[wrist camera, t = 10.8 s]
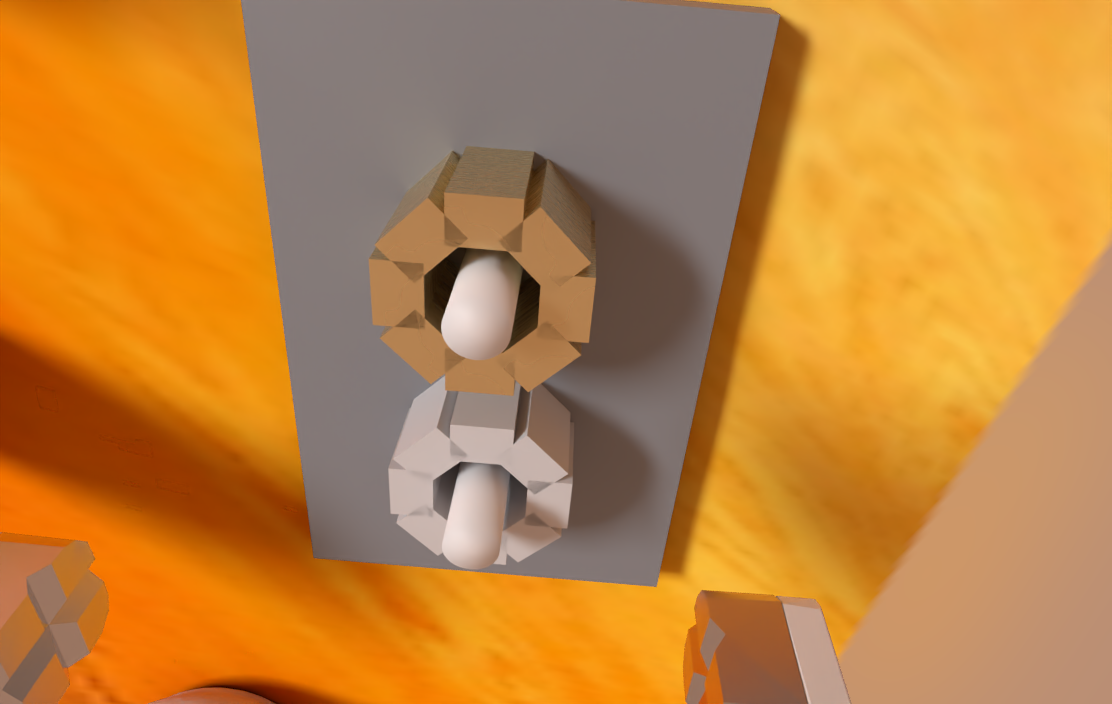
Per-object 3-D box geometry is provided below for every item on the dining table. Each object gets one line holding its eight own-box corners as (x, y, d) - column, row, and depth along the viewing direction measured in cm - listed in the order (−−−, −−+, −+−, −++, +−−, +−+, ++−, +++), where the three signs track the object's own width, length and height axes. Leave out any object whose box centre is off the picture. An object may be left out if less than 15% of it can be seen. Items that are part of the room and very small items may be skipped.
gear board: (255, -39, 19) (125, -11, 14) (769, 8, 19) (840, 53, 14) (323, 534, 29) (265, 676, 24) (654, 562, 29) (668, 709, 24)
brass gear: (398, 140, 20) (363, 185, 17) (602, 157, 20) (604, 205, 17) (405, 317, 23) (376, 384, 20) (583, 332, 23) (582, 401, 20)
